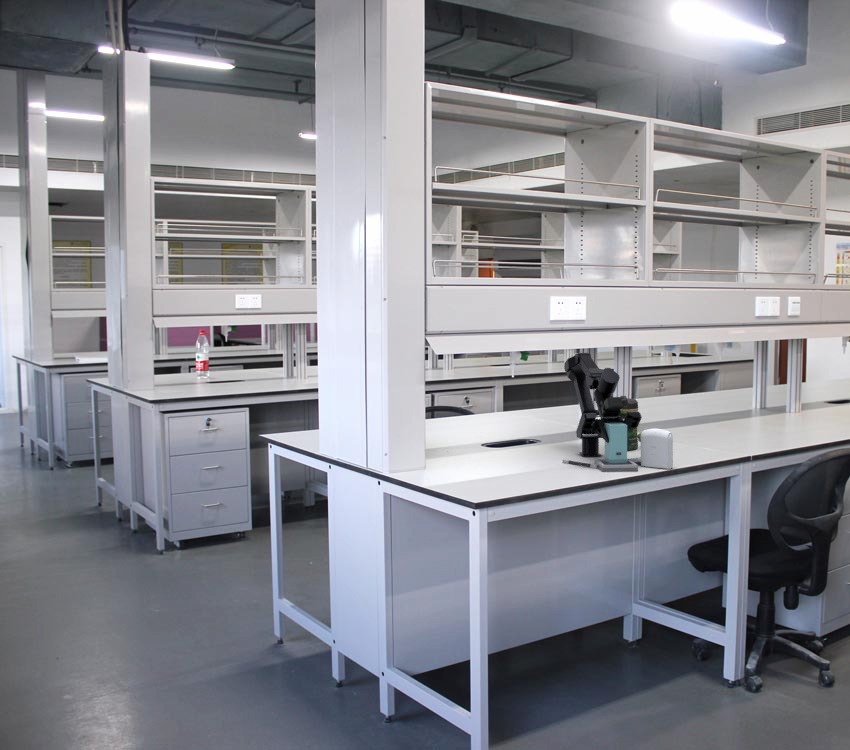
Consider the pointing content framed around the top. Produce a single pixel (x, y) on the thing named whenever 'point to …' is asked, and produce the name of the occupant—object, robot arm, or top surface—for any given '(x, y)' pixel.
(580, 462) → the pen
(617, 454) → the charger
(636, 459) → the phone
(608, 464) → the tray
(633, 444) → the coffee jar
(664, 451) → the photo printer
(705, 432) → the top surface
